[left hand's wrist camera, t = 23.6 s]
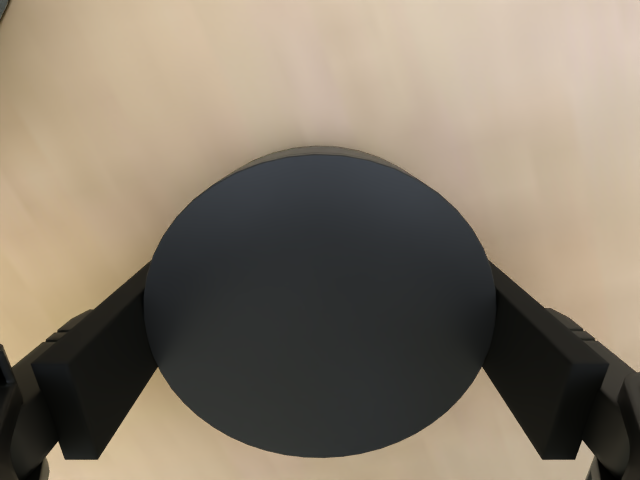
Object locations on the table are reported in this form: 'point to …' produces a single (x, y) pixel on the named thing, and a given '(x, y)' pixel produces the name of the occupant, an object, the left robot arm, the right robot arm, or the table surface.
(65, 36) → the table surface
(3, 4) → the jar
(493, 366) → the left robot arm
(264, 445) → the lid
